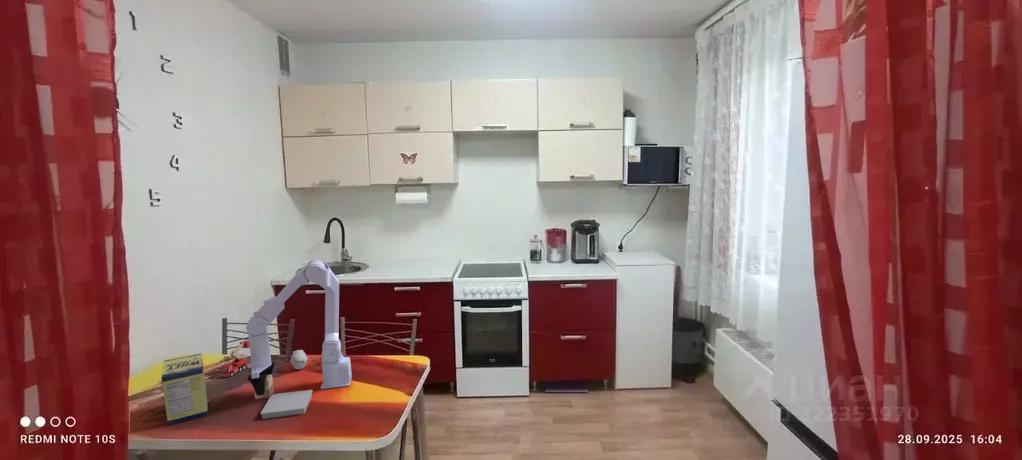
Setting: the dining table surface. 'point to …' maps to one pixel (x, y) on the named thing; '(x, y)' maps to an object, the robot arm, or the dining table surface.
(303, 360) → the white rounded lump
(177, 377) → the protein box
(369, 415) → the dining table surface
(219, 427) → the dining table surface
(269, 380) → the birch block
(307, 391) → the thin white square tile
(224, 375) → the toy fire truck
